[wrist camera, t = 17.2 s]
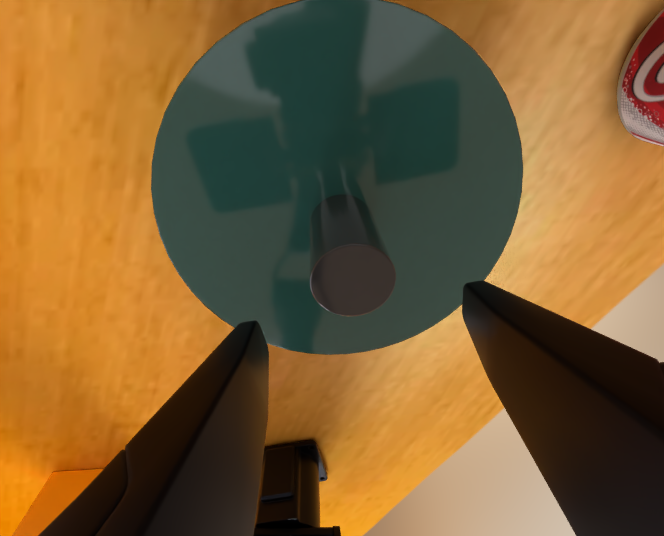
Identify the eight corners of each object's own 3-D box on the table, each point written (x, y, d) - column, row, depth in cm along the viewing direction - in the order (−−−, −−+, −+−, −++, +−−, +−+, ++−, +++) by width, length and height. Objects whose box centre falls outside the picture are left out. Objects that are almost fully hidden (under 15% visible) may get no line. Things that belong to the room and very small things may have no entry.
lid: (494, 313, 17) (558, 400, 12) (231, 358, 17) (204, 456, 13) (530, -43, 10) (706, -131, 5) (88, 51, 10) (-74, 39, 6)
